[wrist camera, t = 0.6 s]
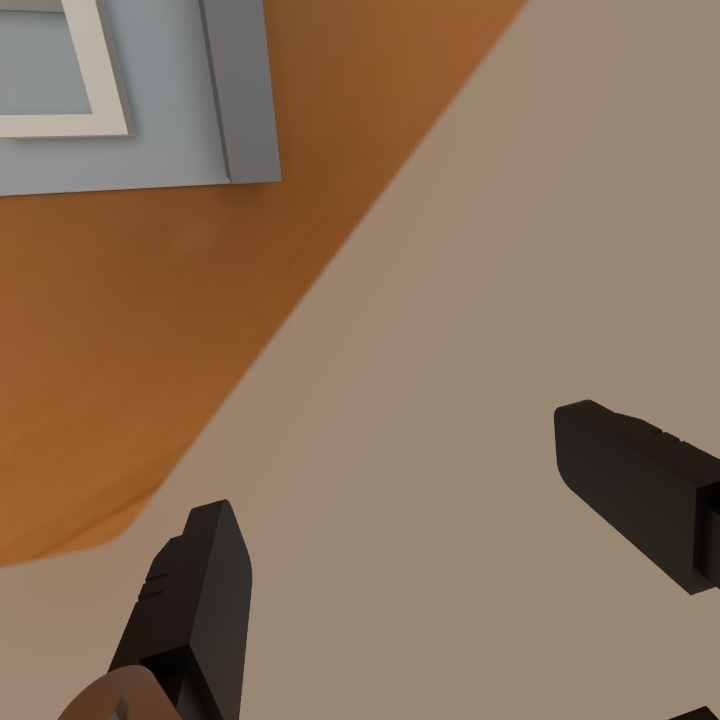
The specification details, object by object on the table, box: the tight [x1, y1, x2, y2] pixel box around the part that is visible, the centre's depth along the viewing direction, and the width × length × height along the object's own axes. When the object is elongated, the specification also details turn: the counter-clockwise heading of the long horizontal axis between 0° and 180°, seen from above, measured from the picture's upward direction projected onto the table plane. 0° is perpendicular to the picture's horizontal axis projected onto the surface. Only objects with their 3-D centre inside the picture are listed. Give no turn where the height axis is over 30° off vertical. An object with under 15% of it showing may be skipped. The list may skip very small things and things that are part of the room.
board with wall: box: [0, 0, 282, 196], centre depth 21 cm, size 22×13×10 cm, turn 92°
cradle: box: [0, 0, 136, 139], centre depth 22 cm, size 7×7×3 cm
